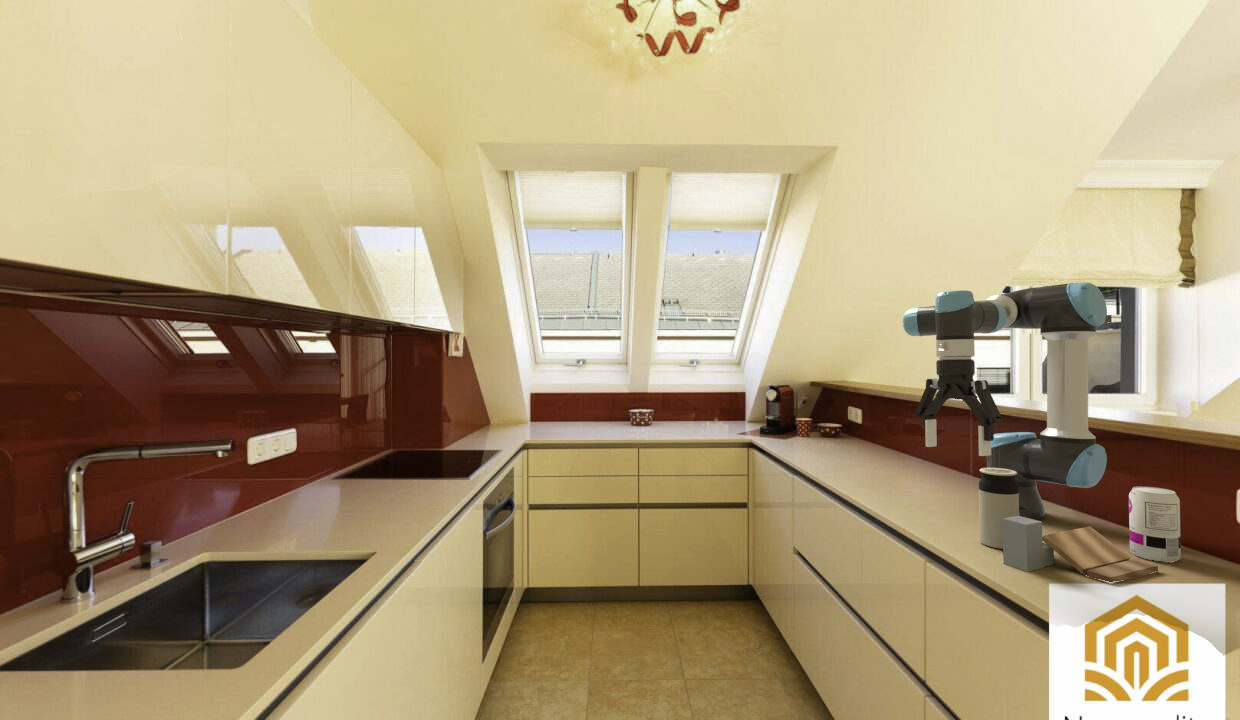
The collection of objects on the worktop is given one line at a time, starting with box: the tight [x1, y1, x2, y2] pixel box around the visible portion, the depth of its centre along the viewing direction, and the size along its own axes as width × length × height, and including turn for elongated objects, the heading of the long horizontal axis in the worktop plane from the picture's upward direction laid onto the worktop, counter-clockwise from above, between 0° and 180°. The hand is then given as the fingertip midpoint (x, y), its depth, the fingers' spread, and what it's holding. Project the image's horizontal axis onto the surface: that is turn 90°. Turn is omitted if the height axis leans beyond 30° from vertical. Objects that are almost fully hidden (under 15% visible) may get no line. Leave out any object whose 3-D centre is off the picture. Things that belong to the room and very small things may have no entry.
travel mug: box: [978, 467, 1019, 550], centre depth 133 cm, size 8×8×18 cm
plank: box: [1042, 525, 1131, 575], centre depth 120 cm, size 16×9×1 cm
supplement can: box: [1128, 486, 1182, 563], centre depth 123 cm, size 8×8×15 cm
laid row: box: [1083, 558, 1159, 582], centre depth 114 cm, size 16×5×1 cm, turn 111°
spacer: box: [1002, 516, 1055, 572], centre depth 120 cm, size 10×5×10 cm, turn 111°
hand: (956, 450), depth 126 cm, fingers open, 13 cm apart
